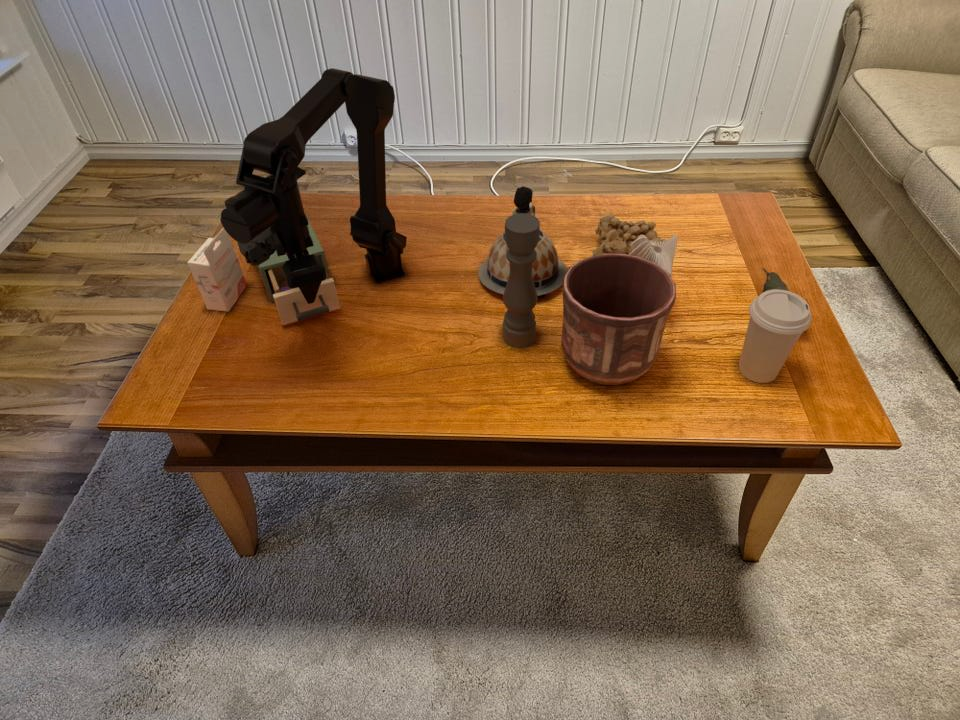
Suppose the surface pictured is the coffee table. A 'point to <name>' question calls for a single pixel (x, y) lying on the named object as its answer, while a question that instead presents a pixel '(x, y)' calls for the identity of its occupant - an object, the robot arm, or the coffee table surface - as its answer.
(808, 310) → the coffee cup
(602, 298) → the pottery
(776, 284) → the sculpture
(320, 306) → the drawer
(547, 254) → the patterned domed piece
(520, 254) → the candle holder
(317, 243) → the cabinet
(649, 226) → the mineral formation
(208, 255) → the ink cartridge box
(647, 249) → the shell sculpture
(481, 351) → the coffee table surface
